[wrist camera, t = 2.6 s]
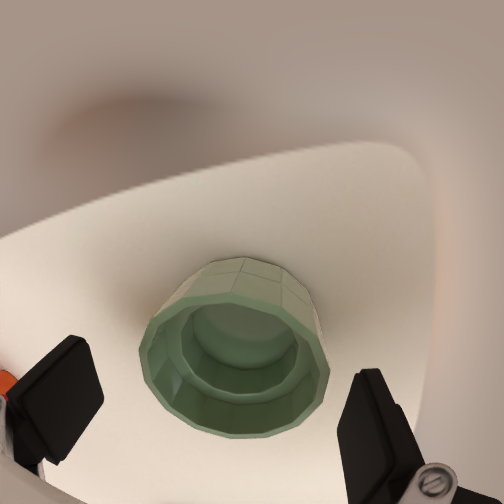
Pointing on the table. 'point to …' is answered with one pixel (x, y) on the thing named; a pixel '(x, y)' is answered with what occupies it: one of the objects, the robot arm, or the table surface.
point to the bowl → (237, 351)
